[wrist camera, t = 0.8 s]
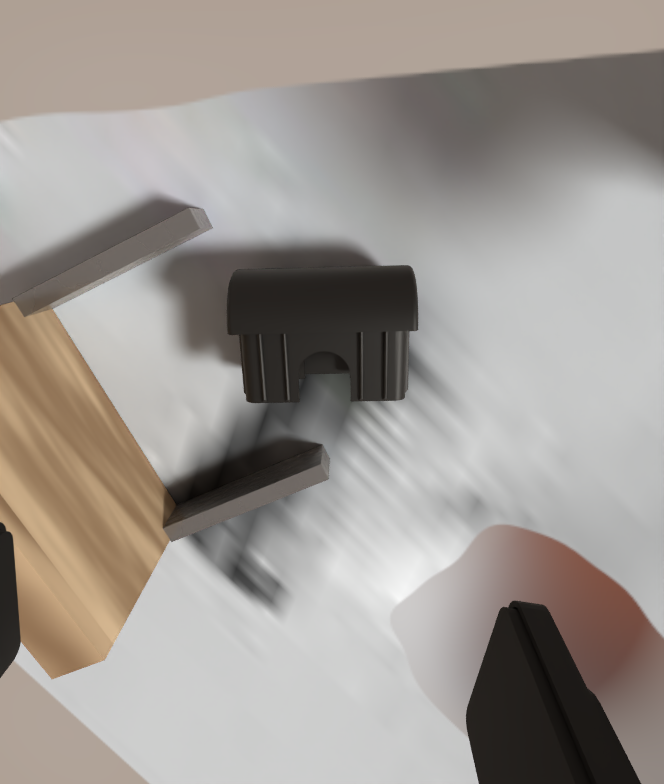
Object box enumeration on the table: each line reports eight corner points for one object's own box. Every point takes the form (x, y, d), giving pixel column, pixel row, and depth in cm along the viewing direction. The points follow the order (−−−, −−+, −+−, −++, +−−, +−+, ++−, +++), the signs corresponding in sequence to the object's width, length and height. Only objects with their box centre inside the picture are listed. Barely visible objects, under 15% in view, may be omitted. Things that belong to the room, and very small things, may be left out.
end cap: (404, 260, 31) (420, 270, 25) (402, 369, 33) (416, 404, 27) (245, 264, 31) (220, 274, 25) (254, 372, 34) (233, 407, 27)
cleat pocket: (203, 209, 30) (188, 207, 27) (329, 458, 36) (328, 479, 33) (41, 291, 32) (12, 298, 29) (184, 517, 37) (171, 542, 34)
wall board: (43, 294, 32) (-143, 339, 20) (183, 515, 37) (104, 660, 25) (3, 315, 33) (-203, 370, 20) (146, 530, 38) (52, 679, 25)
